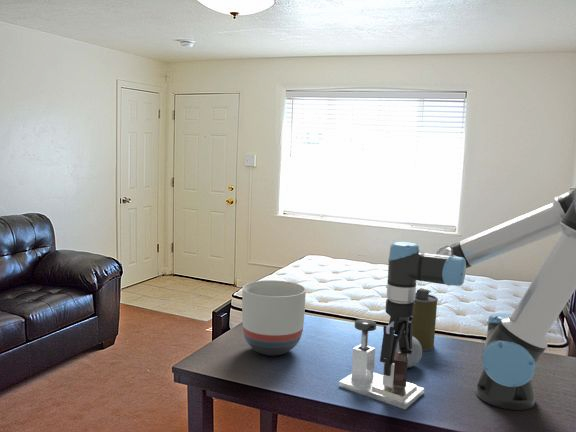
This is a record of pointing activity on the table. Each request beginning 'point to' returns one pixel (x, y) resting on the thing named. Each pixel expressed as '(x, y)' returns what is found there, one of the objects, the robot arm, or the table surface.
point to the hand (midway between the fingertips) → (394, 380)
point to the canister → (424, 319)
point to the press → (377, 381)
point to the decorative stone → (413, 352)
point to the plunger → (365, 330)
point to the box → (400, 369)
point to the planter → (273, 315)
